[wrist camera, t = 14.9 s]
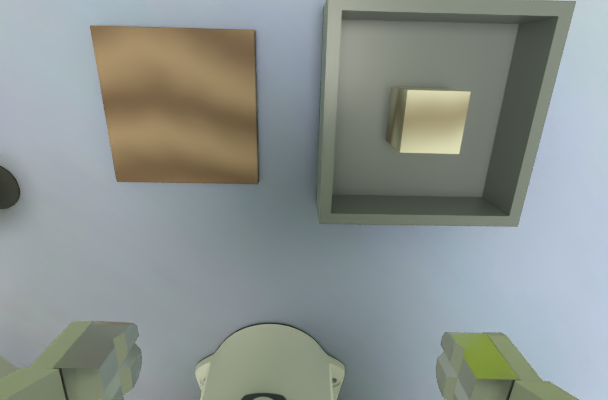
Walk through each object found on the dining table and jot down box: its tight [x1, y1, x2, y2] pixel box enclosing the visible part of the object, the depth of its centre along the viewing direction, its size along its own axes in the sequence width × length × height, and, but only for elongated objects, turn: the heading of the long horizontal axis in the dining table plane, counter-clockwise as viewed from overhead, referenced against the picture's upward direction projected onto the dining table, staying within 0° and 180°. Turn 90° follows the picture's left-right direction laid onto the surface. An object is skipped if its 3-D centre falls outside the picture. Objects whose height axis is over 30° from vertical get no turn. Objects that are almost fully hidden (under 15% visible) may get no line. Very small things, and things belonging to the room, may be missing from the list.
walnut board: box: [90, 26, 259, 184], centre depth 33 cm, size 14×14×1 cm
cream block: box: [386, 87, 471, 154], centre depth 31 cm, size 5×5×5 cm
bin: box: [316, 0, 576, 227], centre depth 31 cm, size 18×18×6 cm
